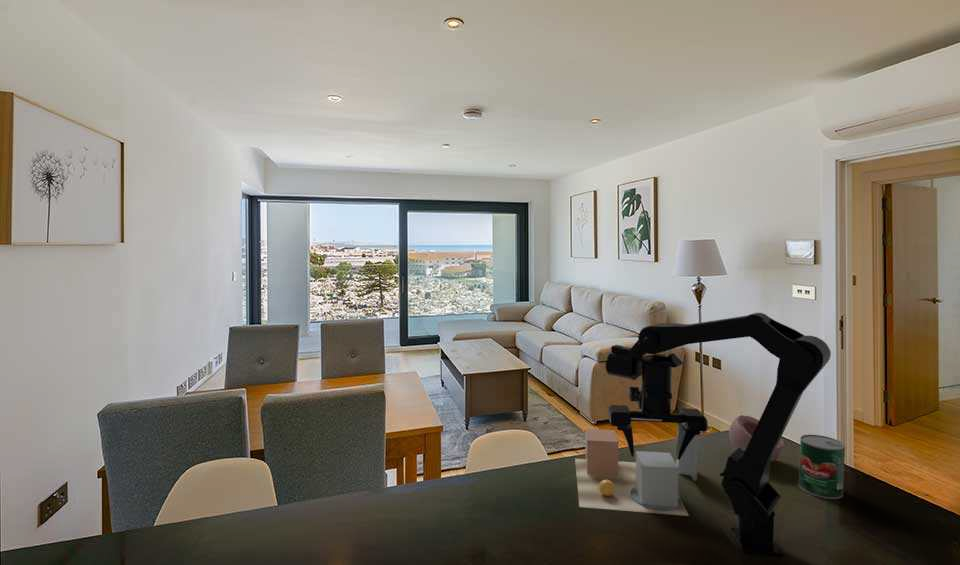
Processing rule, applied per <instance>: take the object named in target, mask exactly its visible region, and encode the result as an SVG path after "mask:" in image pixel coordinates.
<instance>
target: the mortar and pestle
mask: <svg viewBox="0 0 960 565" xmlns="http://www.w3.org/2000/svg"><path fill="white" fill-rule="evenodd" d="M759 420H760V419H757V418H755V417H753V416H750V415H741V414H740V415H739V416H736V418H735V419H733V420H732V423H731V424H730V425H729V430H728V439H729V443H730V444H731V447H732V448H733V450H734V451H735V450H736V449H737V448H738V447H739V448H741V449H742V450H743V451H745V450H746V448H747V446H748V444H749V441H750V439H751V437H752V435H753V433H754V431H755V429H756V426H757V424H758V422H759ZM785 446H786V444H785V441H784V440H783V438H782V437H781V438H780V440H779V443H778V445H777V447H776V449H775V451H774V453H773V455H772V457H771V463H772V462H774V461H775V460H777V459H778V458H779V457H781V455H782V453H783V452H784V449H785Z"/></svg>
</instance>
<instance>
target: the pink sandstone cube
mask: <svg viewBox="0 0 960 565" xmlns="http://www.w3.org/2000/svg"><path fill="white" fill-rule="evenodd" d="M584 433H585V434H584V436H585V438H584V439H585V440H584V442H585V443H584V444H585V450H584V452H585V454H584V455H585V456H584V457H585V458H584V459H585V462H586V469H587V474H600V475H615V476H618V461H619V439H618V437H617V434H616V430H611V429H598V428H597V429H595V428H585V430H584Z"/></svg>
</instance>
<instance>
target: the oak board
mask: <svg viewBox="0 0 960 565" xmlns="http://www.w3.org/2000/svg"><path fill="white" fill-rule="evenodd" d="M574 459H575V460H574V461H575V462H574V464H575V472H576V484H577V497H578V498H577V499H578V505H579V506H578V507H579V508H584V509H585V508H586V509H599V510H611V511H622V512H623V511H624V512H633V513H634V512H635V513H646V514H647V513H648V514H659V515H670V516H672V515H673V516H681V517H682V516H683V517H685V516H686V517H690V515H689V513H688V511H687V510H686V507H685V505H684V504H683V500H682V498H681V497H680V495H679V494H678V507H676V506H663V505H650V504H641V501H640V498H639V495H638V492H637V489H636V461H634V462H633V461H632V462H631V461H619V460H618V476H615V475H600V474H587V469H586V462H585V458H574ZM603 480H610V481H611V482H612V483H613V484H614V487H615V490H614V493H613V494H612V495H610V496H605V495H603V494H602V493H601V492H600V489H599V484H600V482H601V481H603Z"/></svg>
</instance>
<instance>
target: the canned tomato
mask: <svg viewBox="0 0 960 565" xmlns="http://www.w3.org/2000/svg"><path fill="white" fill-rule="evenodd" d="M799 439H800V441H799V442H800V443H799V464H798V465H799V466H798V467H799V470H798V485H797V486H798V487H799V488H800V489H801V490H802V491H803V492H805V493H807V494H808V495H812V496H815V497H817V498H821V499H828V500H838V499H842V498H843V497H844V476H845V475H844V474H845V457H846V456H845V455H846V454H845V453H846V445H845V444H844V443H843V442H842V441H841V440H839V439H836V438H833V437H829V436H824V435H820V434H804V435H803V434H802V435H801V436H800V437H799Z"/></svg>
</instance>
